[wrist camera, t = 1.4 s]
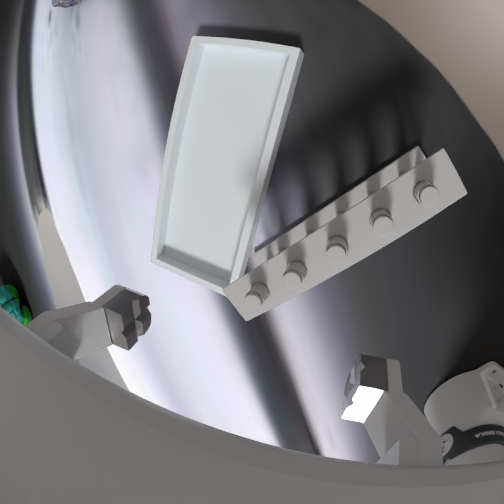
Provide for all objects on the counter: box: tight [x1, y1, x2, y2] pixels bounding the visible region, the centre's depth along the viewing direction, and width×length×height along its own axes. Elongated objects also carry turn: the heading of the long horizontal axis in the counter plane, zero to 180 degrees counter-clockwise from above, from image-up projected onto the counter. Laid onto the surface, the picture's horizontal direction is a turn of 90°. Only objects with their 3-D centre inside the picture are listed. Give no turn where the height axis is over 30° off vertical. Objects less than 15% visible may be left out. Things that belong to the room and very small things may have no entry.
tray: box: [151, 36, 304, 296], centre depth 36 cm, size 14×33×2 cm, turn 166°
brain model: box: [0, 285, 32, 326], centre depth 70 cm, size 24×19×15 cm
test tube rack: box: [222, 146, 467, 321], centre depth 29 cm, size 25×4×13 cm, turn 129°
